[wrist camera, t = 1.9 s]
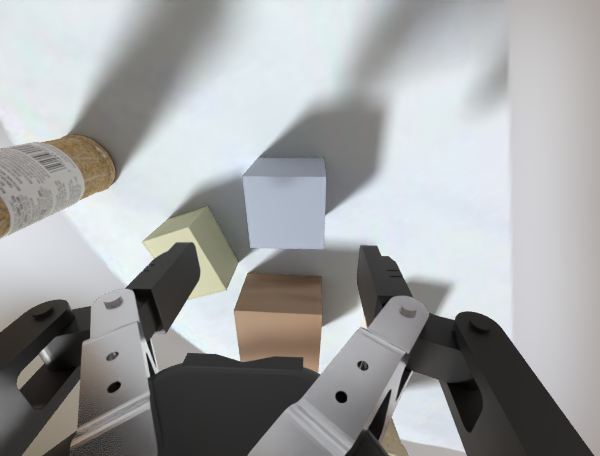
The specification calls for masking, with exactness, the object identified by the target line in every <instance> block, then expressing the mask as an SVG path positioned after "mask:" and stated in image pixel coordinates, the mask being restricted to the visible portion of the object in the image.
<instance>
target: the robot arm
mask: <svg viewBox="0 0 600 456" xmlns="http://www.w3.org/2000/svg"><path fill="white" fill-rule="evenodd" d="M199 279H200V265H199V260H198V256H197V251H196V247H195V244H194V243H193V242H176V243H175V244H174V245H173V246H172V247H171V248H170V249H169V250H168V251H167V252H164V253H162V254H161V255H159V256H157V257H156V258H155V259H154V260H153V261H152V262H151V263H150V264H149V266H147V267H146V268H145V269H144V270H143V271H142V272H141V273H140V274H139V275H138V276H137V277H136V278H135V279H134V280H133V281H132V282H131V283H130V284H129V285H128V286H127V287H126V288H125V289H118V290H114V291H111V292H108V293H106V294H104V295H102V296H101V297H99V298H98V299H96V301H94V303H93V304H92V306H89V307H84V308H78V309H73V310H72V309H71V307H70V306H69V304H68V302H67V301H65V300H52V301H48V302H45V303H42V304H40V305H37V306H35V307H33V308H31V309H30V310H28V311H27V312H25V313H24V314H23V315H22V316H20V317H19V318H18V319H17V320H15V321H14V322H13V323H12V324H10V325H9V326H8V327H7V328H5V329H4V330H3V331H2V332H0V456H22V454H23V453H24V452H25V451H26V449H27V448H28V447H29V445H30V444H31V443H32V441H33V440H34V439H35V437H36V436H37V435H38V433H39V432H40V431H41V430H42V428H43V427H44V425H45V424H46V423H47V421H48V420H49V419H50V418H51V416H52V415H53V414H54V412H55V411H56V410H57V409H58V407H59V405H61V403H62V402H63V401H64V399H65V398H66V397H67V395H68V394H69V393H70V392H71V390H72V389H73V387H74V386H75V385H76V384H77V382H78V381H79V380H80V391H79V408H78V425H77V431H76V432H75V433H73V434H71V435H70V436H69V437H67V438H66V439H65V440H63V441H62V442H60V443H59V444H58V445H56V446H55V447H54V448H52V449H51V450H49V451H48V452H47V453H45V454H44V455H43V456H389V454H388V453H387V452H386V451H385V449H384V448H383V447H382V446H381V444H380V443H381V441H382V439H383V437H384V435H385V433H386V430H387V428H388V426H389V423H390V420H391V418H392V415H393V412H394V410H395V408H396V406H397V404H398V402H399V400H400V398H401V396H402V394H403V391H404V389H405V387H406V385H407V383H408V381H409V379H410V377H411V375H412V373H413V371H415V372H418V373H421V374H424V375H427V376H430V377H433V378H436V379H439V382H440V384H441V387H442V390H443V392H444V395H445V398H446V400H447V403H448V406H449V409H450V411H451V414H452V417H453V419H454V422H455V425H456V427H457V430H458V433H459V435H460V438H461V441H462V443H463V446H464V449H465V451H466V454H467V456H594V455H593V454H592V452H591V451H590V449H589V448H588V447H587V445H586V444H585V442H584V441H583V440H582V438H581V437H580V436H579V434H578V433H577V431H576V430H575V429H574V427H573V426H572V425H571V423H570V422H569V420H568V419H567V418H566V416H565V415H564V414H563V412H562V411H561V409H560V408H559V407H558V405H557V404H556V403H555V401H554V400H553V398H552V397H551V396H550V394H549V393H548V392H547V390H546V389H545V387H544V386H543V385H542V383H541V382H540V380H539V379H538V378H537V376H536V375H535V373H534V372H533V371H532V369H531V368H530V367H529V365H528V364H527V363H526V361H525V360H524V358H523V357H522V356H521V354H520V353H519V351H518V350H517V349H516V347H515V346H514V345H513V343H512V342H511V340H510V339H509V338H508V336H507V335H506V333H505V332H504V331H503V329H502V328H501V327H500V326H499V325H498V324H497V323H496V322H495V321H493V320H492V319H490V318H489V317H487V316H485V315H482V314H479V313H476V312H467V311H466V312H461V313H459V314H458V315H457V316H456V318H455V320H451V319H447V318H443V317H439V316H436V315H433V314H431V313H429V311H428V309H427V307H426V306H425V305H424V304H423V303H422V302H420V301H419V300H417V299H415V298H413V296H412V294H411V292H410V290H409V288H408V286H407V284H406V282H405V280H404V278H403V276H402V274H401V272H400V270H399V268H398V266H397V264H396V262H395V261H393V260H392V259H391V258H390V257H389V256H381V254H380V252H379V249H378V247H377V246H368V245H361V246H360V250H359V260H358V269H357V285H358V289H359V294H360V298H361V303H362V307H363V311H364V316H365V320H366V325H367V329H365V328H363V327H360V328H359V329H358V330H357V331H356V332H355V333H354V335H353V336H352V337H351V338H350V339H349V341H348V342H347V343H346V344H345V346H344V347H343V348H342V349H341V351H340V352H339V353H338V354H337V355H336V357H335V358H334V359H333V360H332V362H331V363H330V364H329V365H328V366H327V368H326V369H325V370H324V371H323V373H322V374H319V373H317V372H315V371H313V370H311V369H308V368H305V367H304V364H303V357H281V356H273V357H268V358H263V359H258V360H253V361H247V362H240V361H237V360H234V359H230V358H227V357H224V356H220V355H217V354H199V353H188V354H187V356H186V358H185V360H184V362H183V363H181V364H177V365H174V366H171V367H169V368H167V369H164V370H162V371H160V372H159V370H158V366H157V362H156V357H155V352H154V348H153V344H152V341H151V337H152V335H153V334H166V333H167V331H168V329H169V328H170V326H171V325H172V323H173V322H174V320H175V318H176V317H177V315H178V314H179V312H180V310H181V309H182V307H183V306H184V304H185V302H186V301H187V299H188V298H189V296H190V294H191V293H192V291H193V290H194V288H195V286H196V285H197V283H198V281H199ZM38 354H39V355H40V357H41V359H42V360H43V362H44V365H43V366H42V367H41V368H40V369H39V370H38V371H37V372H36V373H35V374H34V375H33V376H32V377H31V378H30V379H29V381H28V382H26V384H25V385H24V386H23V387H22V388H21V389H20V390H19V389H18V388H17V385H16V383H17V378H18V376H19V374H20V372H21V371H22V370H23V369H24V368H25V367H26V366H27V365H28V364H29V363H30V362H31V361H32V360H33V359H34V358H35V357H36V356H37V355H38Z"/></svg>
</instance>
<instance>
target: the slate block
mask: <svg viewBox="0 0 600 456" xmlns="http://www.w3.org/2000/svg"><path fill="white" fill-rule="evenodd" d="M242 178H243V187H244V196H245V205H246V214H247V223H248V232H249V241H250V248H284V249H324V230H325V203H326V169H325V162H324V158H257V159H256V161H255V162H254V163H253V164H252V165H251V167H250V168H249V169H248V170H247V171H246V173H245V174H244V175H243V176H242Z"/></svg>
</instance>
